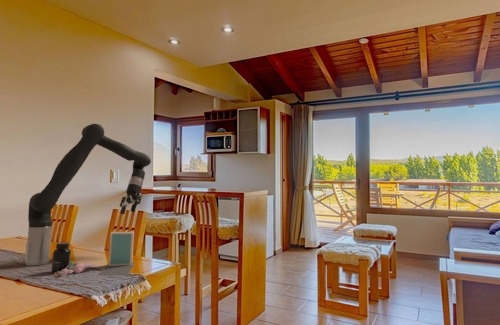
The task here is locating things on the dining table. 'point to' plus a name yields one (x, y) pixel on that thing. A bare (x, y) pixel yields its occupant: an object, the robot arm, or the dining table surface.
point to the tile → (121, 248)
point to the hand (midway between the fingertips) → (127, 212)
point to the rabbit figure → (77, 269)
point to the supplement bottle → (61, 257)
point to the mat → (116, 270)
